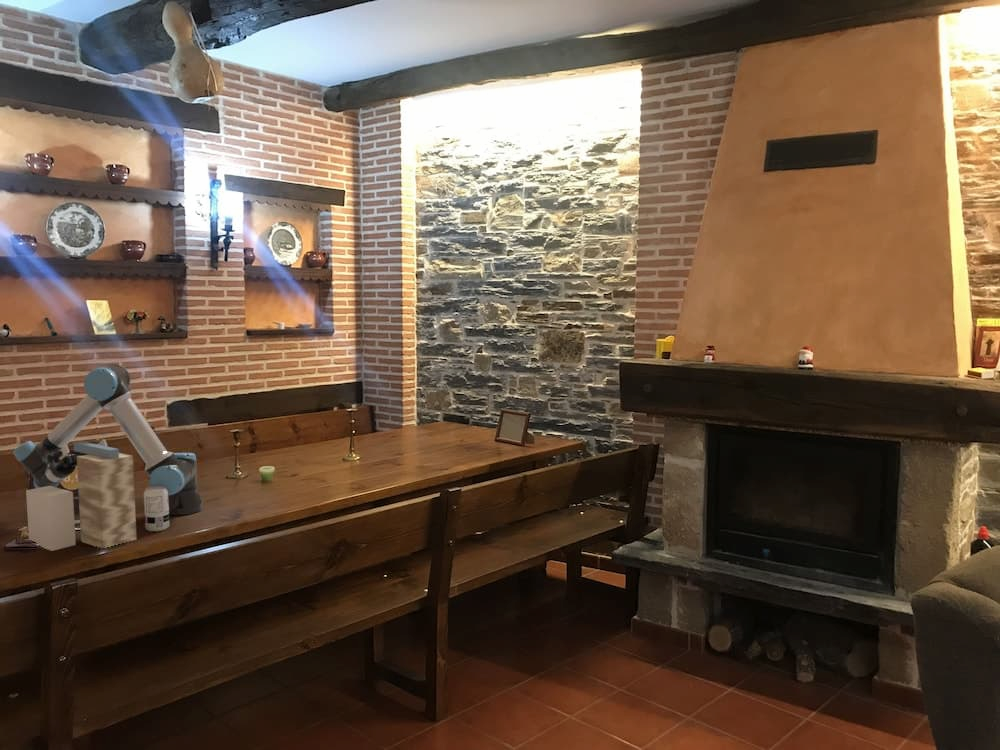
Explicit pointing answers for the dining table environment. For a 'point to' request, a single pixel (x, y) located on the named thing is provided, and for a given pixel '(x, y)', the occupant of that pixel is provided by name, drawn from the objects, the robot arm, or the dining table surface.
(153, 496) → the supplement can
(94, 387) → the robot arm
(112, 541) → the birch stand
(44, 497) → the white step
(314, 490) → the dining table surface
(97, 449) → the slate bar
